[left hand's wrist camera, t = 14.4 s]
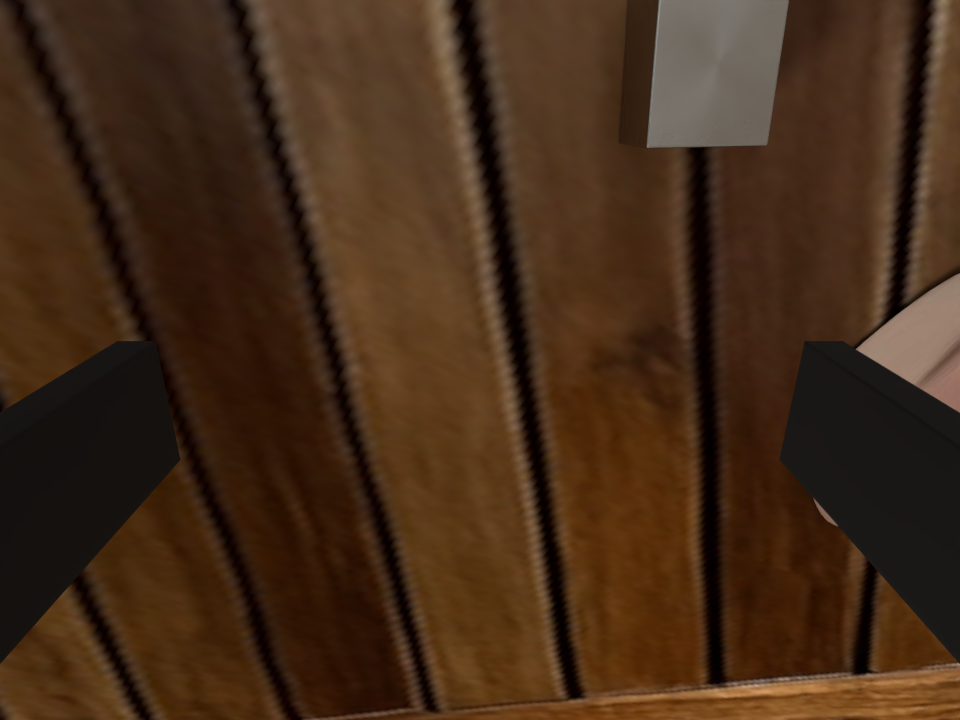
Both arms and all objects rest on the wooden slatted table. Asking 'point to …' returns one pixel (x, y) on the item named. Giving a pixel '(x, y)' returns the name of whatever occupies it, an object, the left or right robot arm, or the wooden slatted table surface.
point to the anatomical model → (922, 346)
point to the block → (700, 72)
